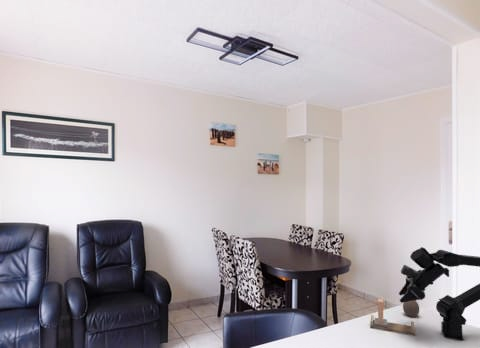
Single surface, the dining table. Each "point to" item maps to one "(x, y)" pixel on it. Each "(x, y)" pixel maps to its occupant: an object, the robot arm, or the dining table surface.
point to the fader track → (395, 327)
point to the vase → (411, 308)
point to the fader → (380, 315)
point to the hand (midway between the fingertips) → (399, 297)
